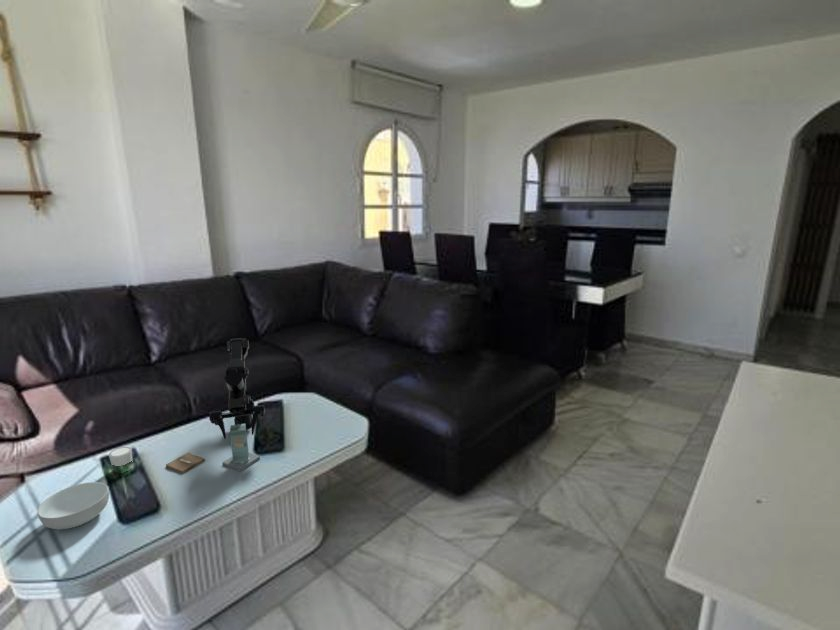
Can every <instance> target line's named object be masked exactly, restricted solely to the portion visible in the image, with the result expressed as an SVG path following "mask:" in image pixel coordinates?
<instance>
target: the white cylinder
mask: <svg viewBox="0 0 840 630" xmlns="http://www.w3.org/2000/svg"><path fill="white" fill-rule="evenodd" d="M132 450H133V448H132V447H130V446H122V447H121V446H120V447H118V448H115V449H113V450H111V451H110V452H109V453H108V456H109V461H110V463H111V466H112V465H115V466H121V465H125V464H127V463H129V462H131V461H132V462H133V451H132Z"/></svg>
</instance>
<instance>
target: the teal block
mask: <svg viewBox="0 0 840 630" xmlns="http://www.w3.org/2000/svg"><path fill="white" fill-rule="evenodd" d="M247 433H248V432H247V429H246V424H238V425H235V424H233V425H230V429H229V436H230V445H231V446H230V447H231V454H232V455H231V457H232V456H233V464H235V463H241V462H247V461H248V458H249V453H250V452H249V444H248V434H247Z"/></svg>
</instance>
